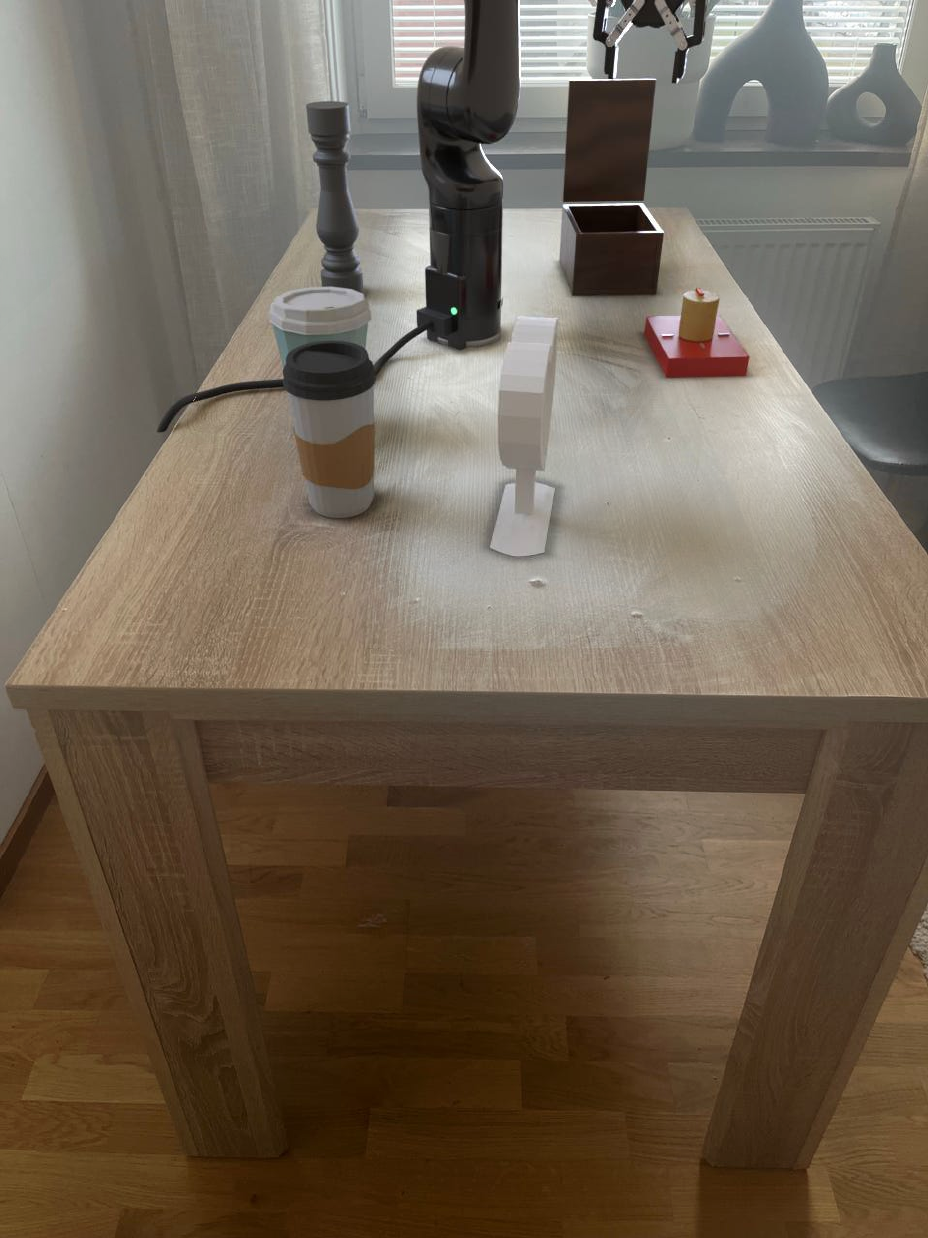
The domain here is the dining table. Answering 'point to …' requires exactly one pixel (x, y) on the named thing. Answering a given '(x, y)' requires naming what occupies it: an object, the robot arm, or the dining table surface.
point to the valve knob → (698, 315)
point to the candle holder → (335, 195)
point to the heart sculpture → (526, 435)
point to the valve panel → (695, 350)
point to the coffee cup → (333, 424)
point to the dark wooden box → (610, 249)
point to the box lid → (607, 139)
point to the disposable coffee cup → (319, 317)
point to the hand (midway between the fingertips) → (643, 80)
